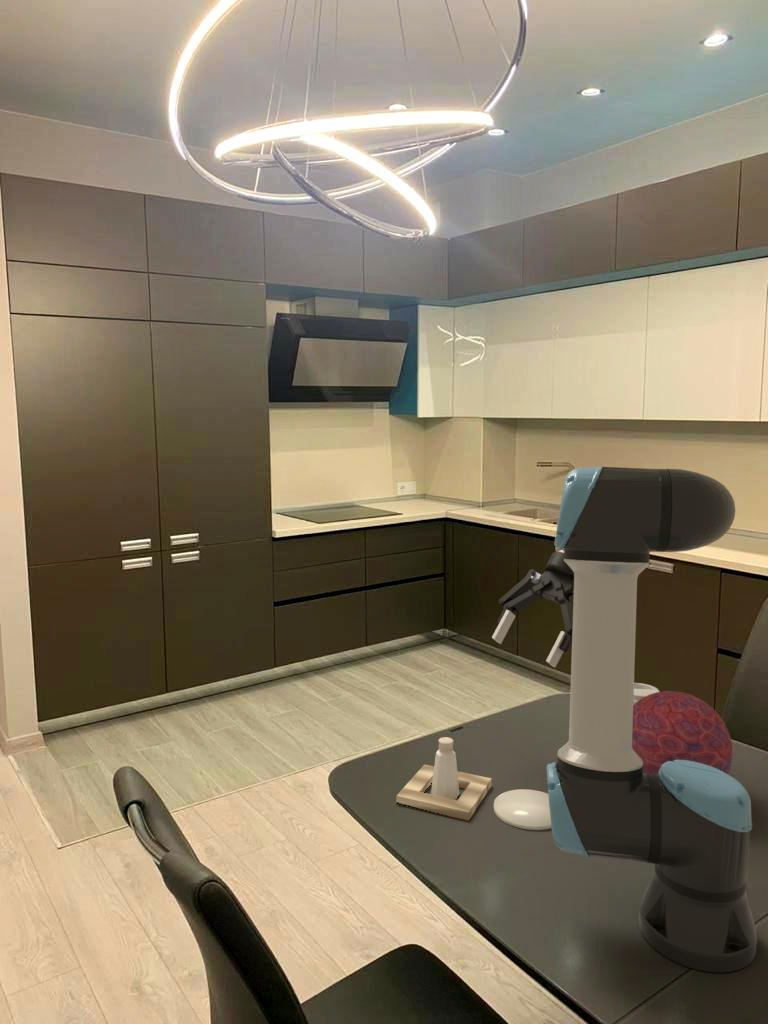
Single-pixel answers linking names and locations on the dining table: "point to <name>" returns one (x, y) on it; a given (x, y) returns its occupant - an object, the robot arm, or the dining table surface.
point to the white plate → (524, 809)
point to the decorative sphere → (679, 732)
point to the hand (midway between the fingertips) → (522, 652)
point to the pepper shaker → (445, 771)
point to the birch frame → (458, 808)
